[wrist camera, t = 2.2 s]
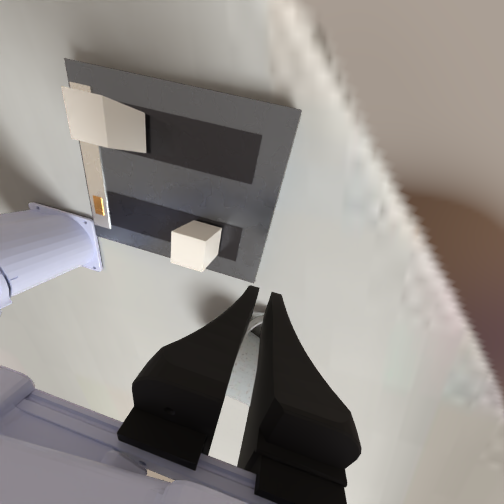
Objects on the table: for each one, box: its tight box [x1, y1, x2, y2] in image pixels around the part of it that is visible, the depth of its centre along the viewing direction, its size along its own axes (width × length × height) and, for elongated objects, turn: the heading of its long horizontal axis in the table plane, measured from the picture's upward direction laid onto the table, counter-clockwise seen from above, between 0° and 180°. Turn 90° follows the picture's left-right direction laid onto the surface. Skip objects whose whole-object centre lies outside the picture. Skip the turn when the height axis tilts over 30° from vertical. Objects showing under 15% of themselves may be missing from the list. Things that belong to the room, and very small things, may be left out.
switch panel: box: [64, 58, 302, 283], centre depth 18 cm, size 20×16×2 cm
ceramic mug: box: [225, 315, 264, 406], centre depth 23 cm, size 11×8×8 cm
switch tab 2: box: [171, 220, 222, 272], centre depth 17 cm, size 3×3×4 cm
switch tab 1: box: [61, 86, 146, 153], centre depth 14 cm, size 3×3×4 cm
